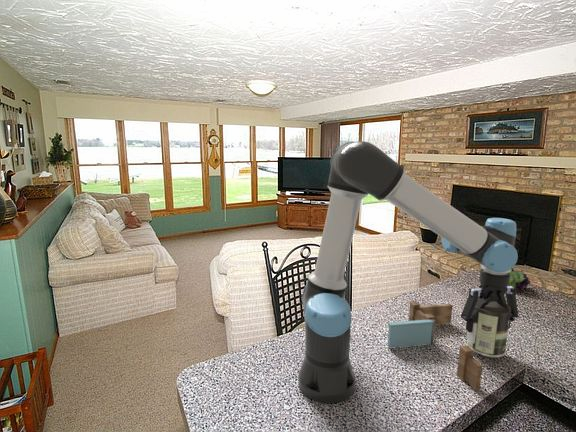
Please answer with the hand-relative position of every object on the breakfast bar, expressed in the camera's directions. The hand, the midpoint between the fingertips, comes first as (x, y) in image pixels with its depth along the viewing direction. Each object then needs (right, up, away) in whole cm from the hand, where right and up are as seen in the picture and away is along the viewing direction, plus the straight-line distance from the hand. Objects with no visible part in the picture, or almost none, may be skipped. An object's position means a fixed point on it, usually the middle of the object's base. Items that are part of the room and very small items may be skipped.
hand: (486, 339), depth 103 cm
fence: (-8, -4, +2) cm, 9 cm away
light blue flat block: (-22, -3, +4) cm, 22 cm away
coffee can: (0, -3, +1) cm, 3 cm away
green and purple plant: (+41, +5, +48) cm, 64 cm away
